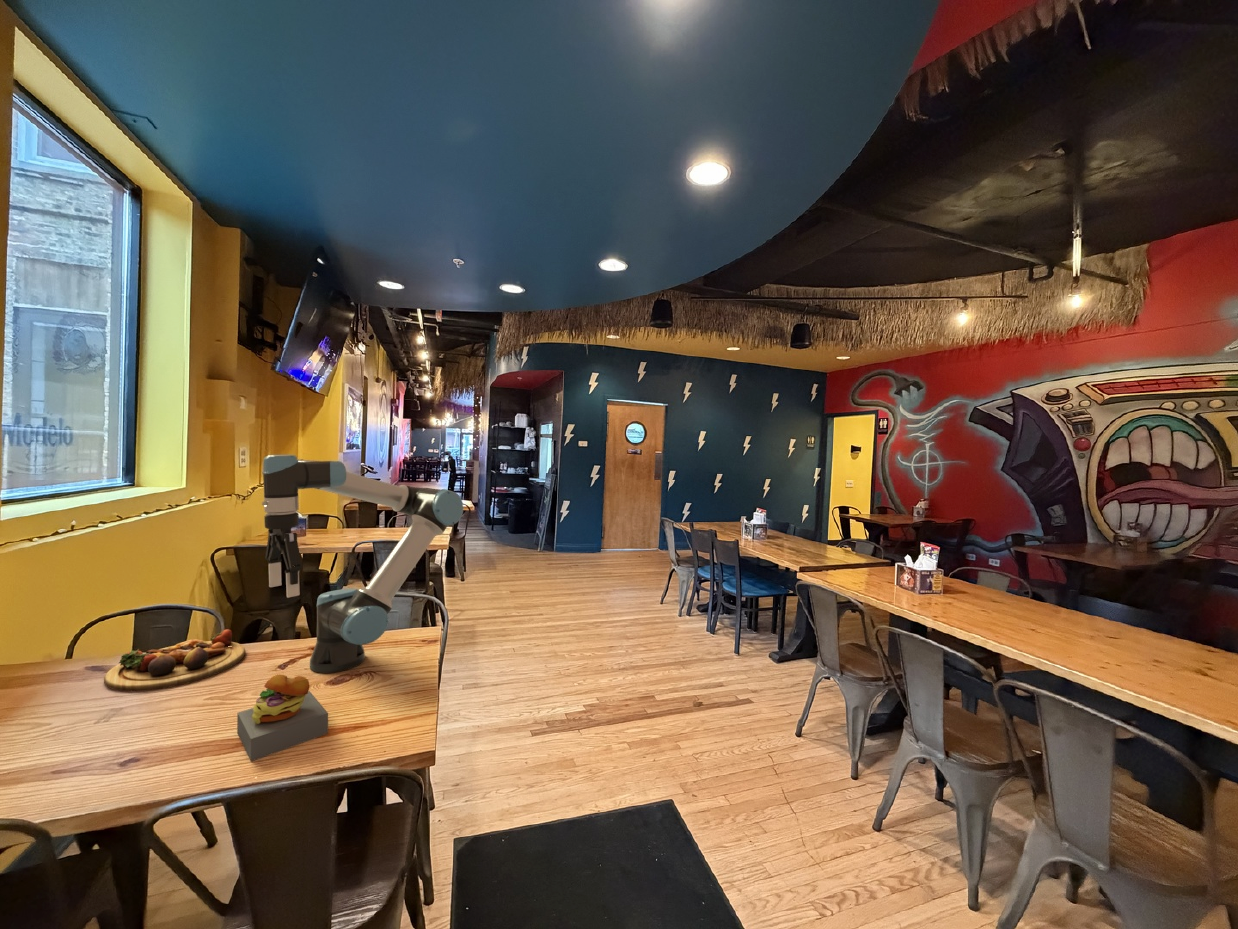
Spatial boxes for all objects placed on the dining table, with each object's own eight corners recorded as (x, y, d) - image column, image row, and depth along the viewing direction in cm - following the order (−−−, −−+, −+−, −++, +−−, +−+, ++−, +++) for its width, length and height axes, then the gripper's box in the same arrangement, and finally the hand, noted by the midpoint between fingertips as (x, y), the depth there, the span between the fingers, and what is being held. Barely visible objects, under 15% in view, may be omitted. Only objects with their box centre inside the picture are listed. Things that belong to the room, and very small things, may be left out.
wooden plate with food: (220, 640, 171) (220, 616, 171) (263, 661, 155) (263, 636, 155) (89, 674, 144) (89, 646, 144) (124, 705, 127) (124, 674, 127)
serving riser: (309, 710, 127) (309, 691, 126) (327, 733, 116) (328, 713, 116) (237, 733, 116) (237, 712, 115) (250, 761, 105) (250, 739, 105)
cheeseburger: (239, 718, 113) (251, 673, 115) (287, 709, 122) (297, 667, 124) (263, 730, 108) (274, 683, 110) (311, 720, 117) (321, 676, 119)
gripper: (250, 509, 134) (252, 585, 135) (281, 519, 118) (284, 604, 120) (281, 507, 140) (283, 579, 141) (315, 515, 124) (317, 597, 125)
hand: (284, 591), depth 130 cm, fingers open, 13 cm apart
